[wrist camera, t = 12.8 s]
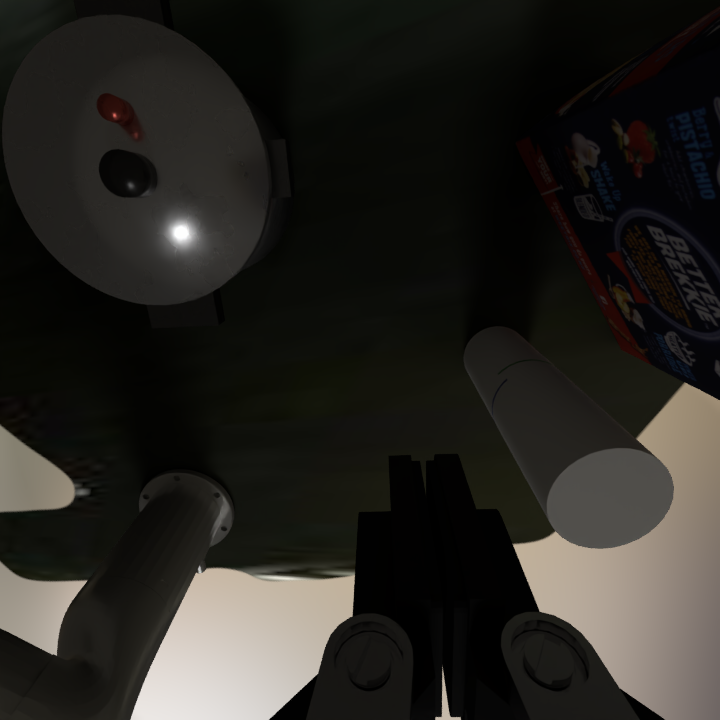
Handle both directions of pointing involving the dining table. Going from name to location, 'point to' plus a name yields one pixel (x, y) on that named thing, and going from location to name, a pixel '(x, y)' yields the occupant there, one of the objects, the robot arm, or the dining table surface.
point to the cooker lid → (136, 160)
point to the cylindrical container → (568, 445)
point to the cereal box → (645, 198)
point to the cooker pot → (207, 310)
